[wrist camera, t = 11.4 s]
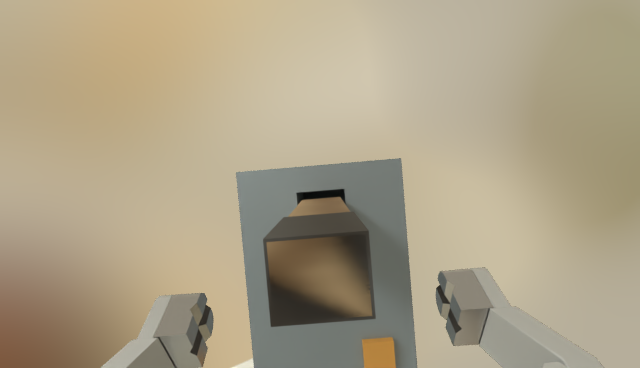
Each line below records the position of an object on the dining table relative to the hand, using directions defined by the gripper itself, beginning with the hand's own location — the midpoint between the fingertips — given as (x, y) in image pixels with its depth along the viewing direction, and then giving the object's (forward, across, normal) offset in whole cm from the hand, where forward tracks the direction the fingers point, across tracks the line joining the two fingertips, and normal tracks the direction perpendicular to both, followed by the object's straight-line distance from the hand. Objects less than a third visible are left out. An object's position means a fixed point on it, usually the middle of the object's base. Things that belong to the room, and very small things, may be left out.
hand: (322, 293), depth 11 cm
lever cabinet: (+4, 0, +33) cm, 33 cm away
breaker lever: (+6, 0, +4) cm, 7 cm away
